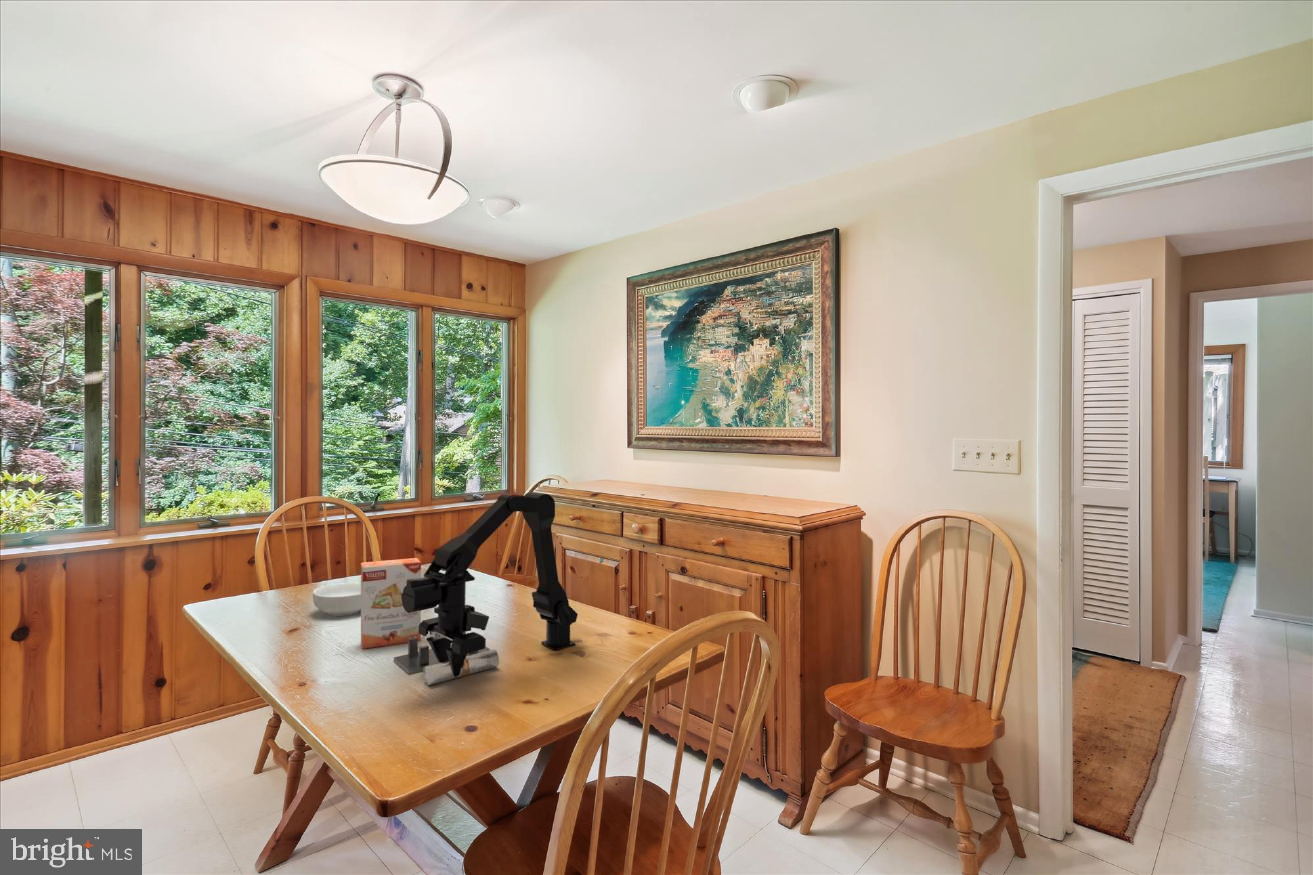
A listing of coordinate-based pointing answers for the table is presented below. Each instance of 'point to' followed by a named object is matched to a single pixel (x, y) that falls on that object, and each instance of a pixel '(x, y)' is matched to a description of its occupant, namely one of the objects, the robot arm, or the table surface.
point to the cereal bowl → (338, 598)
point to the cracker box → (387, 602)
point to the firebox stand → (420, 657)
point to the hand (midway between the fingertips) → (450, 672)
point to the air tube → (470, 665)
